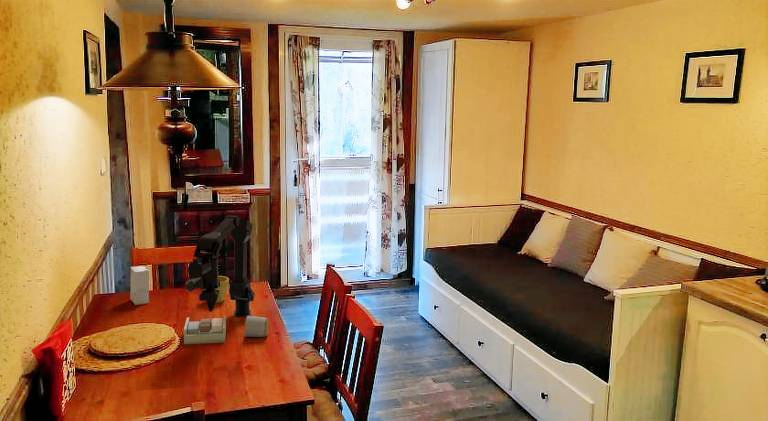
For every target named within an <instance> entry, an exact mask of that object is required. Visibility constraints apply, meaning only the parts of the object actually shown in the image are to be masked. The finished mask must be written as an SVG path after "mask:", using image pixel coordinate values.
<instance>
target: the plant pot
mask: <svg viewBox="0 0 768 421" xmlns="http://www.w3.org/2000/svg"><path fill="white" fill-rule="evenodd" d="M218 279H220V282H221V285H220V287H218V289H217V290H219V295H218V299H217V300H216V303H215V304H217V303H222V302H224V301H225V299H226V294H227V291H228V287H229V283H230V279H229V277H227V276H223V275H218Z"/></svg>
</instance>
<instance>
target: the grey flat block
mask: <svg viewBox="0 0 768 421" xmlns="http://www.w3.org/2000/svg"><path fill="white" fill-rule="evenodd" d="M200 323H201V320H200V321H189V326H188V335H191V334H198V333H199V328H200Z"/></svg>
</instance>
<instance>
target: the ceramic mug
mask: <svg viewBox="0 0 768 421" xmlns="http://www.w3.org/2000/svg"><path fill="white" fill-rule="evenodd" d="M269 324H270V322H269V318H267V317H262V316H253V315H250V316H246V319H245V323H244V336H245V337H247V338H249V337H250V338H265V337H266V336H268V333H269V328H270V326H269Z"/></svg>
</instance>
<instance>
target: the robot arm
mask: <svg viewBox="0 0 768 421" xmlns="http://www.w3.org/2000/svg"><path fill="white" fill-rule="evenodd" d="M252 232H253V224H252V223H251V221H250V220H246V219H245V218H244V219H243V218H241V217H239V216H238V215H226V216H225V217H224V219H223V220H222V221H221V222H220V224H219V225H217V226H216V227H215V228H214V230H213V231H211V232H209V233H206V234H204V235H202V236H201V237H200V238H199V239H198V241H197V243H196V244H197V245H196V247H195V249H194V253H193V259H192V262H191V263H189V264H188V267H187V273H188V275H189V276H190V277H192V278H190V279H188V280H187V281H186V282H185V283H184V284H185V286H186V288H185V289H186V290H187V292H188V293H191V292H193V291H195V290H198V289H200V290H201V291H200V292H199V294H198V297H199V298H198V300H199V301H201V302H206V305H207V308H208V312H209V313H213V310H214V308H215V305H216V304H217V303H216V300H217V299H218V295H219V290H217V289H218V287H220V285H221V282H220V279H218V276H219V257H220V256H221V254H220V251H221V249H222V247H223V241H224V240H225V239H226V238H227V236H229V235H230V236H231V239H232V240H233V241H234V258H233V259H234V266H233V267H234V270H233V271H234V273H233V274H234V276H233V278H232V280H231V281H229V286H228V287H229V288H228V294H229V299H230V300H231V301H235V304H234V305H235V307H234V315H233V316H234V317H247V316H252V314H251V308H250V303H251V302H253V301H254V299H255V297H256V296H255V295H256V293H255V291H254V290H253V289H252V286H251V281H250V279H249V278H248V277H247V276H248V274H247V270H248V268H247V267H248V266H247V263H248V262H247V260H248V256H247V255H248V241H249V239H250V237H251V236H252ZM254 302H255V301H254Z"/></svg>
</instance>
